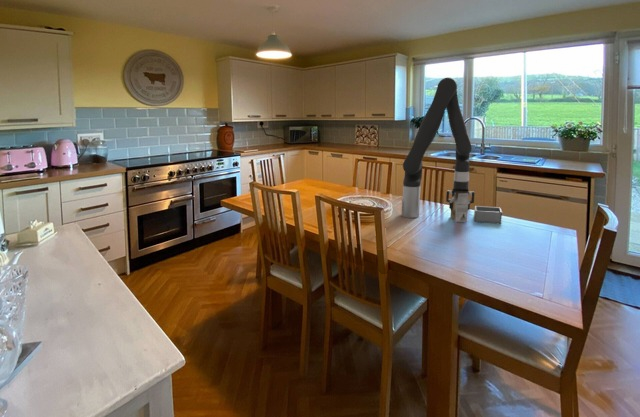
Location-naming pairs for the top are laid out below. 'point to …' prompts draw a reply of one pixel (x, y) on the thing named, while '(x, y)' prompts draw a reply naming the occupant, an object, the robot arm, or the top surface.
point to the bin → (487, 214)
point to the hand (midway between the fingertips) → (459, 209)
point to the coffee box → (460, 206)
